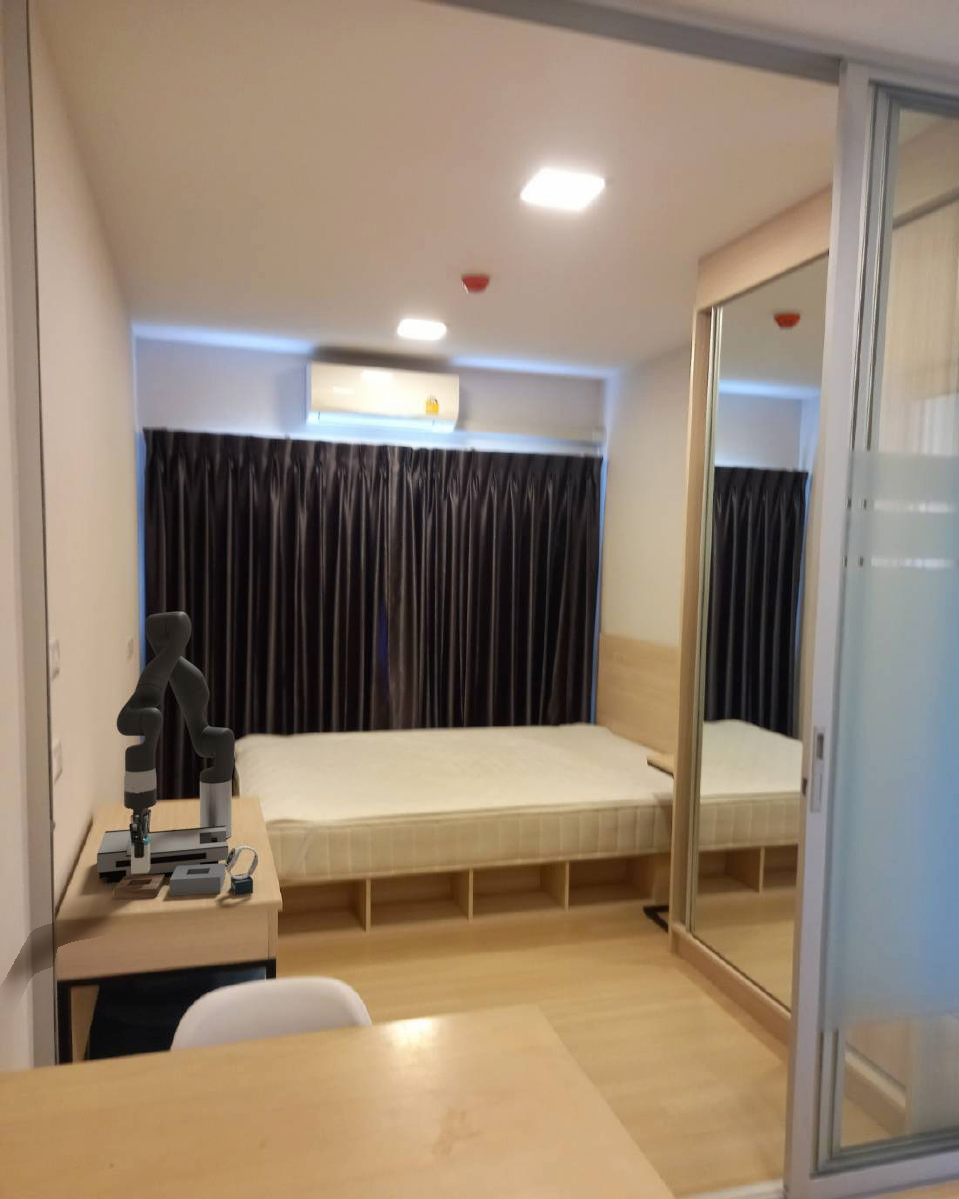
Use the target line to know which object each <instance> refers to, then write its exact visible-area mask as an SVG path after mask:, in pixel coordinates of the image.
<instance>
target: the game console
mask: <svg viewBox="0 0 959 1199" xmlns="http://www.w3.org/2000/svg"><path fill="white" fill-rule="evenodd" d="M136 838H137V836H136ZM147 838H150V870H149V872H148V873H135V874H131V835H130V828H129V829H118V830H106V831H104V834H103V837H102V840H101V843H100V846H99V847H98V850H97V853H96V873H98V879H99V880H100V879H101V880H102V879H106V884H119V882H120V881H121V879H122V878H123V877H124V876H141V875H159V874H165V879H166V878H168V879H169V878H171V876H172V874H173V873H174V871H175V869H176V867H177V866H185V865H204V864H219V861H226V858H227V856H228V854H229V841H227V838H226V825H225V826H214V827H202V828H200V827H193V828H192V827H191V828H179V829H168V830H155V831H149V833H148V837H147Z"/></svg>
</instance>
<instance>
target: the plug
mask: <svg viewBox="0 0 959 1199" xmlns="http://www.w3.org/2000/svg"><path fill="white" fill-rule="evenodd" d="M144 839H145V841H144V857H143V858H135V857H134V843H132V842H131V874H135V873H148V872H149V870H150V838H144Z"/></svg>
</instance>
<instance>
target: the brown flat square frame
mask: <svg viewBox="0 0 959 1199" xmlns="http://www.w3.org/2000/svg"><path fill="white" fill-rule="evenodd" d="M165 879H166V878H165V874H159V875H141V876H124V877H123V878H122V879H121V881H120V882H119V883H117V885H116V887H115V888H114V890H113V900H120V899H135V898H136V899H138V898H155V897H158V895H159V893H160V892H161V890H162V887H163V886H164V884H165V882H166V881H165Z"/></svg>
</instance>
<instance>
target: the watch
mask: <svg viewBox="0 0 959 1199" xmlns="http://www.w3.org/2000/svg"><path fill="white" fill-rule="evenodd" d="M242 850H250V851H252V852H253V854H254V856H253V860H252V863H251V865H250V867H249V868H248V870H247V872H245V873H240V874H233V873H231V870H232V868H233V867H234V866H235V865H236V863H237V862H238V861H239V857H240V854H241V852H242ZM224 861H225V862H224V863H225V871H227V873H228V875H229V876H230V890H232V892H233V894H234V896H239V895H246V894H252V893H254V879H253V878H252V876H253V875H254V872H255V871H256V870H257V866H258V864H259V855H258V854H257V851H255V849H254V848H253V847H252V846H249V845H245V844H244V845H243V844H242V845H238V846H236V847H234V848H232V849H231V850H230V851H228V856H227V858H226V860H224Z"/></svg>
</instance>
